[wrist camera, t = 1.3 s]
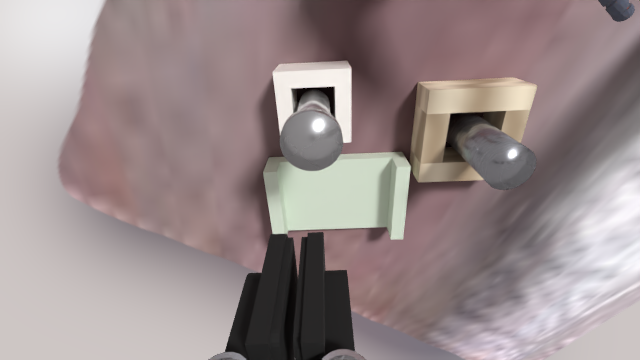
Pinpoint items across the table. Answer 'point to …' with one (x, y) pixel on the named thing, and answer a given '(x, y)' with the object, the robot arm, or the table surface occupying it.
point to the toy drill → (618, 9)
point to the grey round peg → (490, 151)
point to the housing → (314, 76)
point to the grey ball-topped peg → (311, 134)
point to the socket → (461, 97)
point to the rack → (339, 193)
